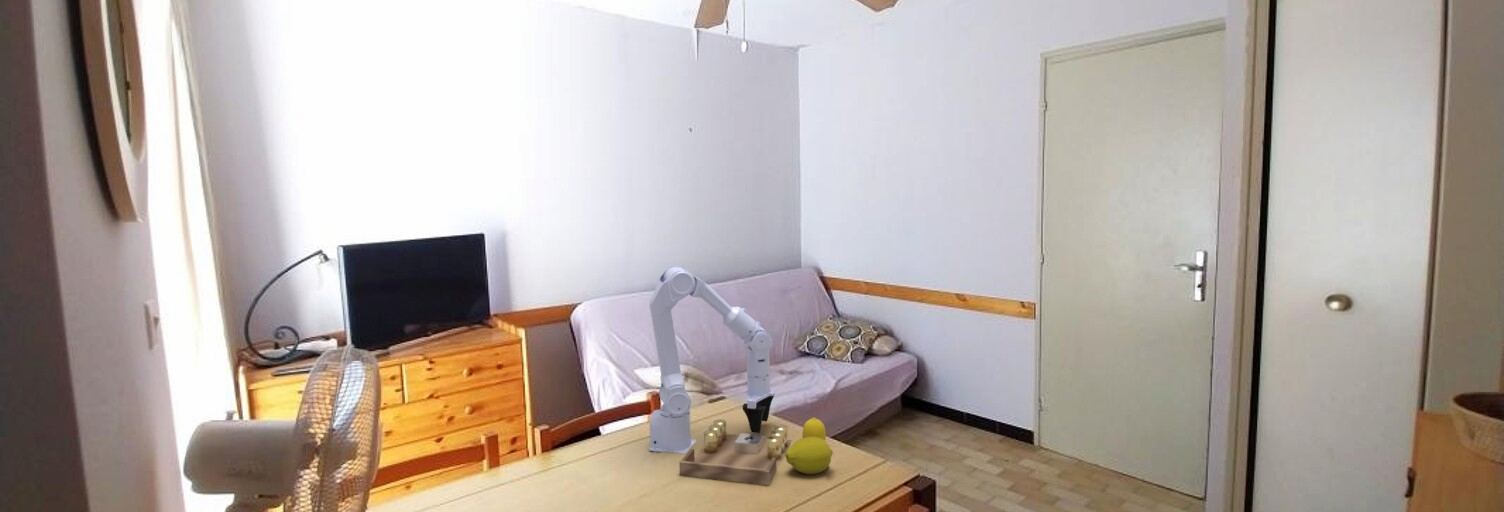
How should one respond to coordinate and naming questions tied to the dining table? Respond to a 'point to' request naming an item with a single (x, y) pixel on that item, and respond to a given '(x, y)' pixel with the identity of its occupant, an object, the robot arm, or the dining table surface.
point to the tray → (732, 464)
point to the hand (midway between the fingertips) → (759, 426)
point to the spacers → (719, 434)
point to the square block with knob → (749, 443)
